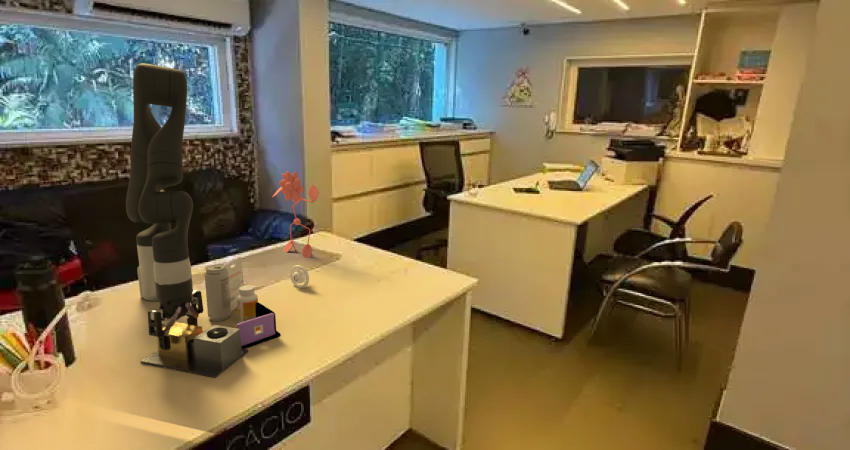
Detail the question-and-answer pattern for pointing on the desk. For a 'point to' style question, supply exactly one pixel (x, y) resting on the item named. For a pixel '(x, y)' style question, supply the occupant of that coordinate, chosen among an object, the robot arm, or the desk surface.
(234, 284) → the ink cartridge box
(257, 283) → the desk surface
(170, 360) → the grey knob base
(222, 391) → the desk surface
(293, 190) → the flower sculpture
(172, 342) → the brass open box
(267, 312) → the toy room diorama
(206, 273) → the energy drink can
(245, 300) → the supplement bottle
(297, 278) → the ring around a ball
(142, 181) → the robot arm
